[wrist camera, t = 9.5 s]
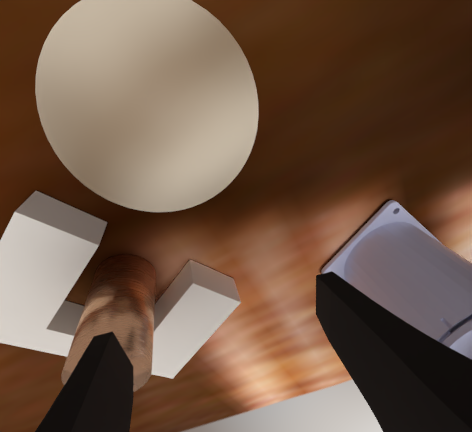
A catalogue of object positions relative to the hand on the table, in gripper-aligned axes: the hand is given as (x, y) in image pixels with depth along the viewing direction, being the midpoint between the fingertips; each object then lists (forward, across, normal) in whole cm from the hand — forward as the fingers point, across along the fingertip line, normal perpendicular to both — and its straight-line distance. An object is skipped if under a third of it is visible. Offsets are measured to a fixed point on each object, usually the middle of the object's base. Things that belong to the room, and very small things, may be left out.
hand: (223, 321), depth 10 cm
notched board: (+9, +7, +5) cm, 13 cm away
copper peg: (+9, +6, +4) cm, 12 cm away
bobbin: (+9, +1, -6) cm, 11 cm away
